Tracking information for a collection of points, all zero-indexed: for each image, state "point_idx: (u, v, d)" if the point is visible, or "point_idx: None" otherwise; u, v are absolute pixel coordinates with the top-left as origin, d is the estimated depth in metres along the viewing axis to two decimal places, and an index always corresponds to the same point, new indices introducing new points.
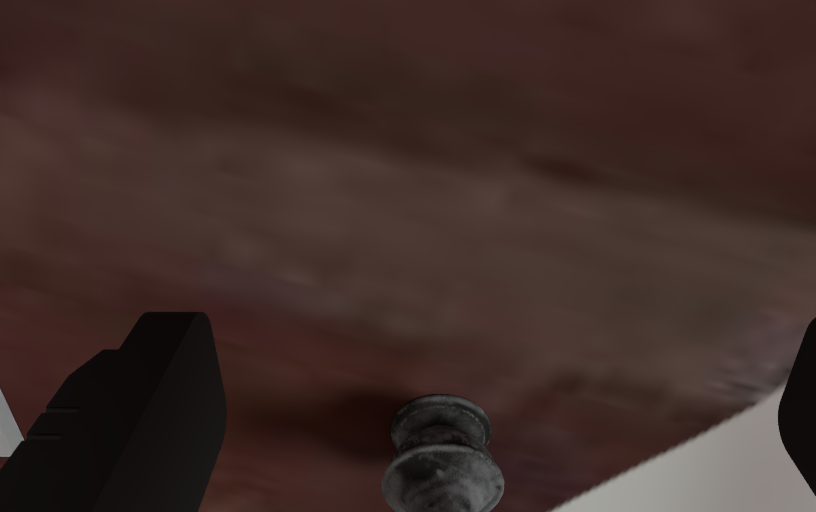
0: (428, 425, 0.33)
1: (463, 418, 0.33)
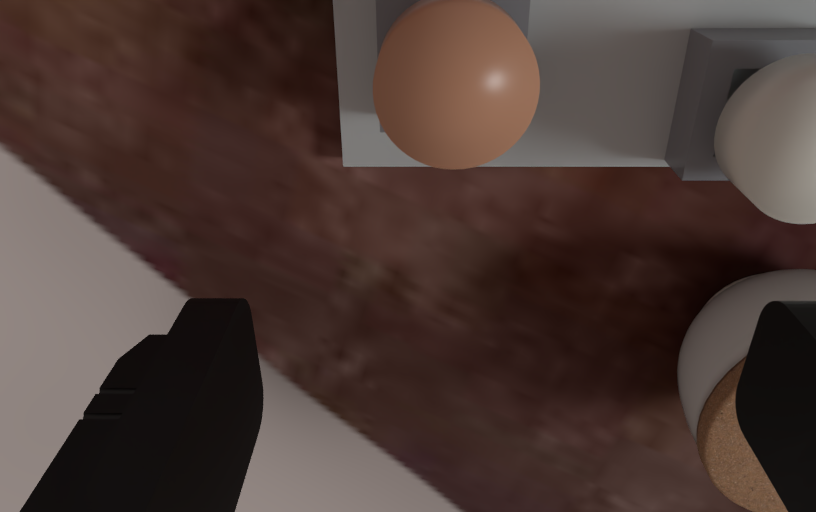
0: None
1: None
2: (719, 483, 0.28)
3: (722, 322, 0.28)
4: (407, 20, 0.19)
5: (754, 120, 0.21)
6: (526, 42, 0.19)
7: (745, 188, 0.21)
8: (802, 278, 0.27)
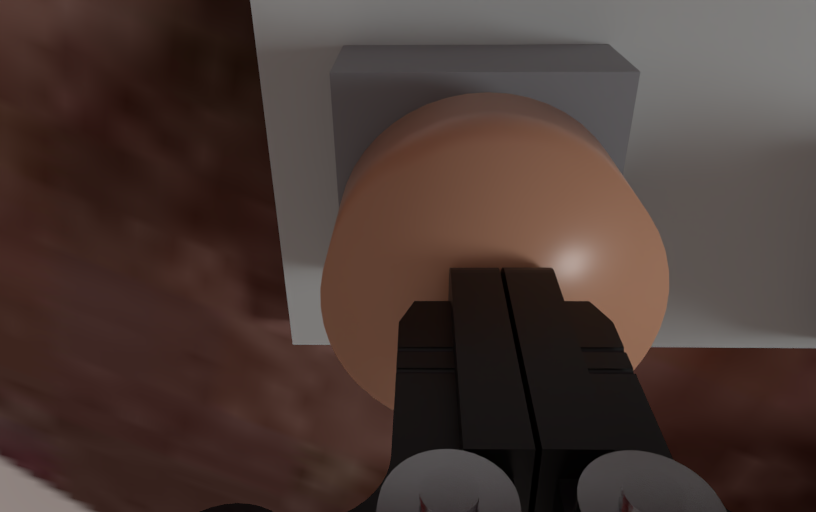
0: None
1: None
2: None
3: None
4: (390, 175, 0.09)
5: None
6: (648, 220, 0.09)
7: None
8: None
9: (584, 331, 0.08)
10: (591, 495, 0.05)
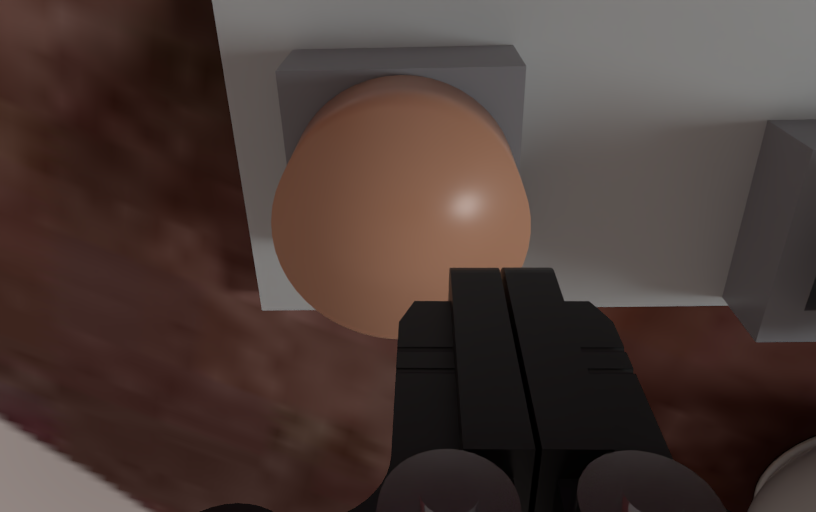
0: None
1: None
2: None
3: None
4: (317, 133, 0.12)
5: None
6: (507, 163, 0.12)
7: None
8: None
9: (583, 331, 0.08)
10: (591, 495, 0.05)
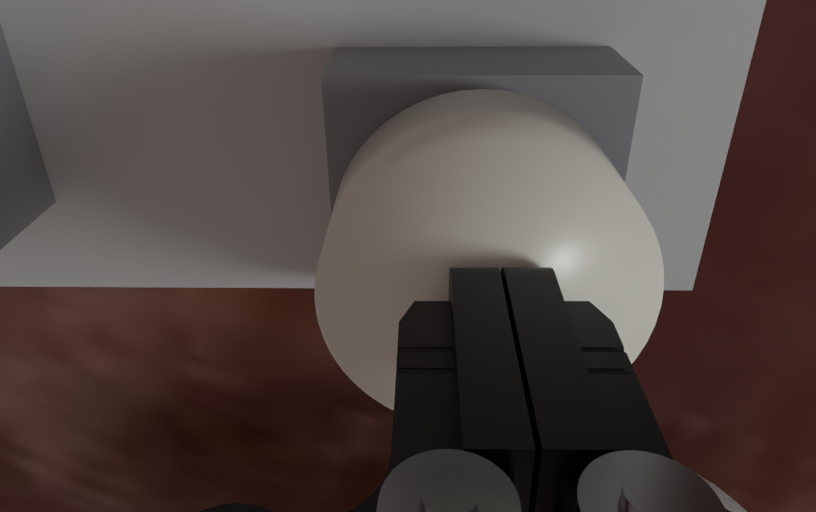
0: None
1: None
2: None
3: None
4: None
5: None
6: None
7: (342, 369, 0.10)
8: None
9: (584, 331, 0.08)
10: (591, 495, 0.05)
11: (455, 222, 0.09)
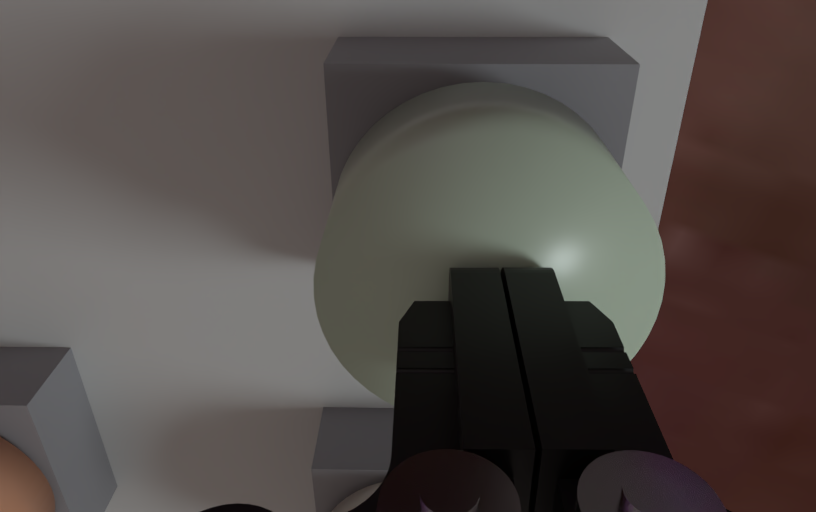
0: None
1: None
2: None
3: None
4: None
5: None
6: None
7: None
8: None
9: (584, 331, 0.08)
10: (591, 495, 0.05)
11: None
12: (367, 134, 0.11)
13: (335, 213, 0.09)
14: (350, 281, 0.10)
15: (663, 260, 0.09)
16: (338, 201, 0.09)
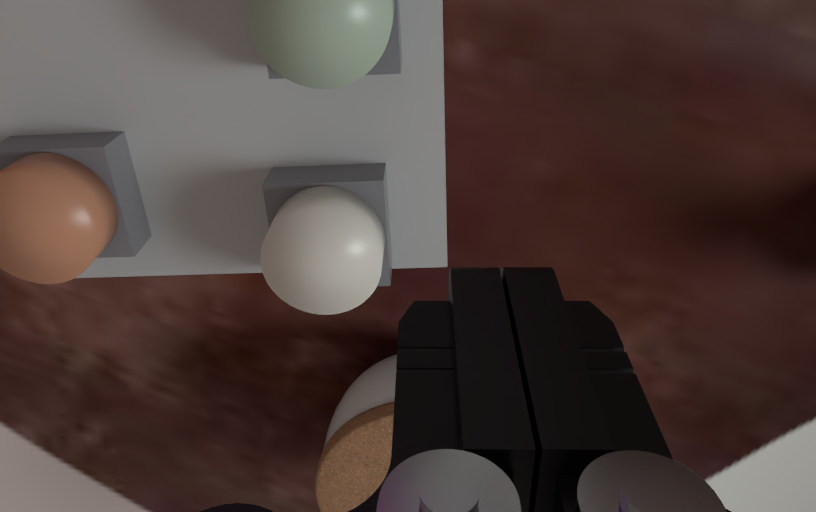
0: None
1: None
2: None
3: (342, 401, 0.33)
4: None
5: (263, 242, 0.27)
6: (69, 196, 0.26)
7: (273, 290, 0.28)
8: None
9: (584, 331, 0.08)
10: (591, 495, 0.05)
11: (305, 235, 0.27)
12: None
13: None
14: (260, 9, 0.23)
15: None
16: None
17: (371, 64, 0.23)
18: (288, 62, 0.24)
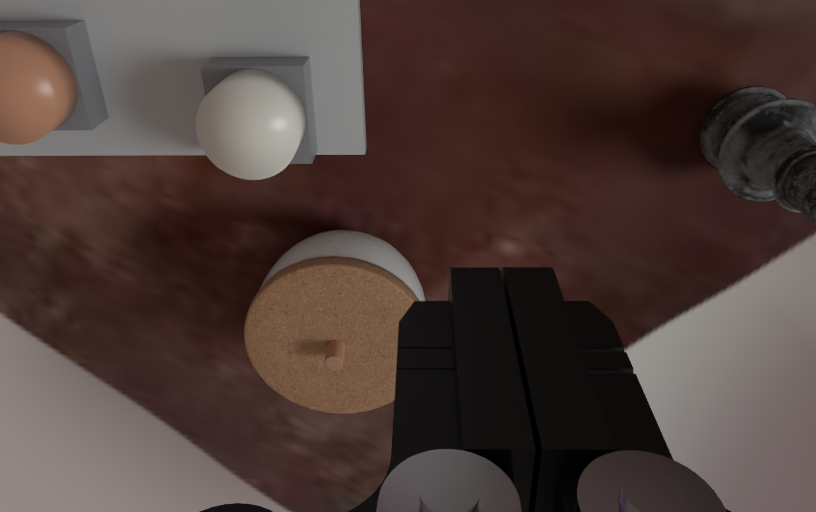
0: None
1: None
2: (269, 383, 0.38)
3: None
4: None
5: (198, 112, 0.33)
6: (33, 64, 0.31)
7: (207, 156, 0.33)
8: (325, 235, 0.38)
9: (583, 331, 0.08)
10: (591, 495, 0.05)
11: (232, 105, 0.32)
12: None
13: None
14: None
15: None
16: None
17: None
18: None
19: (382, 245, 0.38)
